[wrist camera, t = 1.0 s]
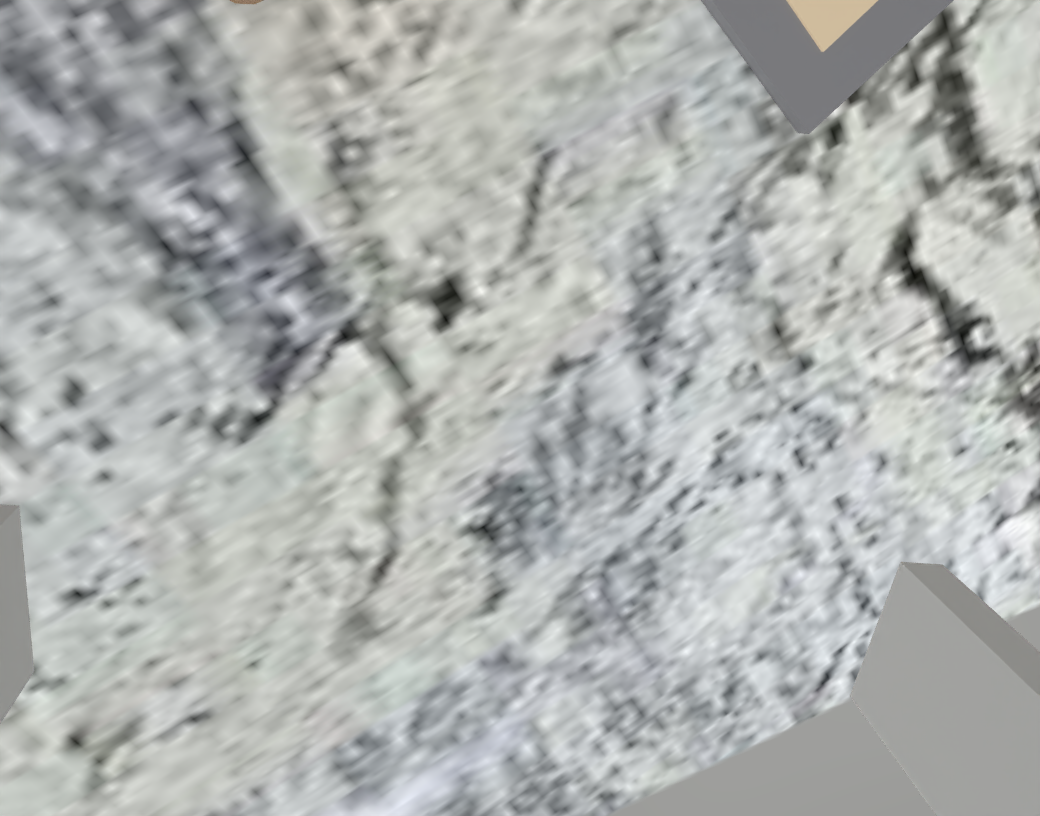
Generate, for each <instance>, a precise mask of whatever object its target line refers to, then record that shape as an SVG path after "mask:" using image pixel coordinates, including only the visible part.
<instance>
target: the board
mask: <svg viewBox="0 0 1040 816" xmlns="http://www.w3.org/2000/svg"><path fill="white" fill-rule="evenodd" d="M701 1H702V2H703V4H704V5H705V6H706V8H707V9H708V10H709V12H710V13H711V14H712V16H713V17H714V19H715V20H716V21H717V23H718V24H719V25H720V27H721V28H722V30H723V31H724V32H725V34H726V35H727V36H728V38H729V39H730V41H731V42H732V43H733V45H734V46H735V47H736V49H737V50H738V52H739V53H740V54H741V56H742V57H743V58H744V60H745V61H746V63H747V64H748V65H749V67H750V68H751V69H752V71H753V72H754V73H755V75H756V76H757V78H758V79H759V80H760V82H761V83H762V84H763V86H764V87H765V89H766V90H767V91H768V93H769V94H770V95H771V97H772V98H773V100H774V101H775V102H776V104H777V105H778V106H779V108H780V109H781V111H782V112H783V113H784V115H785V116H786V117H787V119H788V120H789V121H790V123H791V124H792V126H793V127H794V128H795V130H796V131H797V132H798V133H805V134H809V133H810V132H811V131H813V130H814V129H815V128H816V127H817V126H818V125H819V124H820V123H821V122H822V121H823V120H824V119H826V118H827V117H828V116H829V115H830V114H831V113H832V112H833V111H834V110H835V109H836V108H837V107H839V106H840V105H841V104H842V103H843V102H844V101H845V100H846V99H847V98H848V97H849V96H850V95H852V94H853V93H854V92H855V91H856V90H857V89H858V88H859V87H860V86H861V85H862V84H863V83H865V82H866V81H867V80H868V79H869V78H870V77H871V76H872V75H873V74H874V73H875V72H876V71H878V70H879V69H880V68H881V67H882V66H883V65H884V64H885V63H886V62H887V61H888V60H889V59H891V58H892V57H893V56H894V55H895V54H896V53H897V52H898V51H899V50H900V49H901V48H902V47H904V46H905V45H906V44H907V43H908V42H909V41H910V40H911V39H912V38H913V37H914V36H915V35H917V34H918V33H919V32H920V31H921V30H922V29H923V28H924V27H925V26H926V25H927V24H928V23H930V22H931V21H932V20H933V19H934V18H935V17H936V16H937V15H938V14H939V13H940V12H941V11H943V10H944V9H945V8H946V7H947V6H948V5H949V4H950V3H951V2H952V1H953V0H701Z"/></svg>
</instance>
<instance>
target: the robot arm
mask: <svg viewBox="0 0 1040 816" xmlns="http://www.w3.org/2000/svg"><path fill="white" fill-rule="evenodd" d="M33 673H34V664H33V653H32V642H31V631H30V620H29V609H28V598H27V587H26V576H25V565H24V554H23V543H22V532H21V521H20V510H19V506H16V505H0V723H1V722H2V720H3V719H4V717H5V716H6V714H7V713H8V711H9V710H10V708H11V707H12V705H13V703H14V702H15V700H16V699H17V697H18V696H19V694H20V693H21V691H22V690H23V688H24V686H25V685H26V683H27V682H28V680H29V679H30V677H31V676H32V674H33ZM850 697H851V698H852V700H853V701H854V702H855V704H856V705H857V707H858V708H859V709H860V711H861V712H862V714H863V715H864V716H865V718H866V719H867V720H868V722H869V723H870V724H871V726H872V727H873V729H874V730H875V732H876V733H877V734H878V736H879V737H880V738H881V740H882V741H883V743H884V744H885V745H886V747H887V748H888V750H889V751H890V752H891V754H892V755H893V757H894V758H895V759H896V761H897V762H898V763H899V765H900V766H901V768H902V769H903V770H904V772H905V773H906V774H907V776H908V777H909V779H910V780H911V781H912V783H913V784H914V786H915V787H916V788H917V790H918V791H919V793H920V794H921V795H922V796H923V798H924V799H925V801H926V802H927V804H928V805H929V806H930V808H931V809H932V811H933V812H934V813H935V815H936V816H1040V652H1039V651H1038V650H1037V649H1036V648H1035V647H1034V646H1033V645H1031V644H1030V643H1029V642H1028V641H1027V640H1026V639H1025V638H1024V637H1023V636H1021V635H1020V634H1019V633H1018V632H1017V631H1016V630H1015V629H1014V628H1013V627H1011V626H1010V625H1009V624H1008V623H1007V622H1006V621H1005V620H1004V619H1003V618H1001V617H1000V616H999V615H998V614H997V613H996V612H995V611H994V610H992V609H991V608H990V607H989V606H988V605H987V604H986V603H985V602H984V601H982V600H981V599H980V598H979V597H978V596H977V595H976V594H975V593H973V592H972V591H971V590H970V589H969V588H968V587H967V586H966V585H965V584H963V583H962V582H961V581H960V580H959V579H958V578H957V577H956V576H954V575H953V574H952V573H951V572H950V571H949V570H948V569H947V568H946V567H944V566H943V565H940V564H924V563H909V562H900V565H899V568H898V570H897V573H896V576H895V578H894V581H893V583H892V586H891V589H890V591H889V594H888V597H887V599H886V602H885V605H884V607H883V610H882V612H881V615H880V618H879V620H878V623H877V626H876V628H875V631H874V634H873V636H872V639H871V641H870V644H869V647H868V649H867V652H866V655H865V657H864V660H863V663H862V665H861V668H860V670H859V673H858V676H857V678H856V681H855V684H854V686H853V689H852V692H851V694H850Z"/></svg>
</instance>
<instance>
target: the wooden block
mask: <svg viewBox="0 0 1040 816" xmlns="http://www.w3.org/2000/svg"><path fill="white" fill-rule="evenodd" d="M230 1H232V2H234V3H239V4H256V3H258V2H261V1H263V0H230Z"/></svg>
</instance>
